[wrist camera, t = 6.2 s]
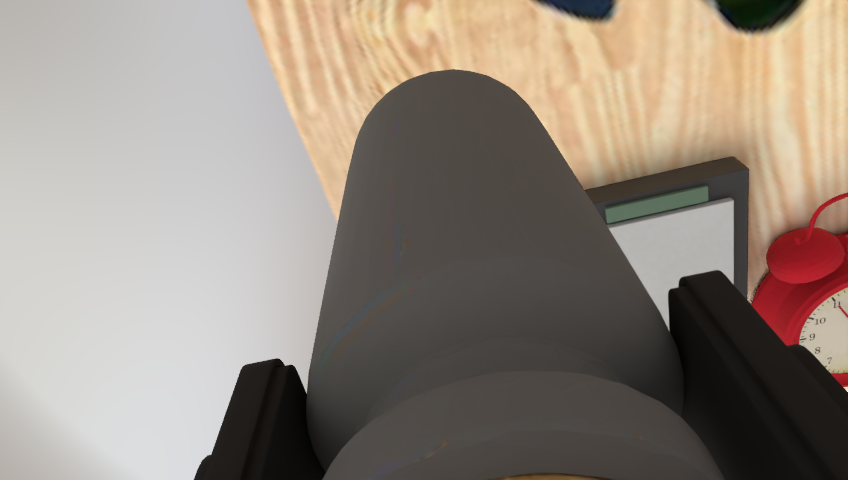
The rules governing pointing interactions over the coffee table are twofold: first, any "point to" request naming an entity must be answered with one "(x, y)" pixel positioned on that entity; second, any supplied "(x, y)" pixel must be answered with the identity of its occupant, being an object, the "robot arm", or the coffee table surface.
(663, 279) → the scale
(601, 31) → the coffee table surface
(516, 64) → the coffee table surface
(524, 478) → the bottle
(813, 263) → the alarm clock
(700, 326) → the robot arm
